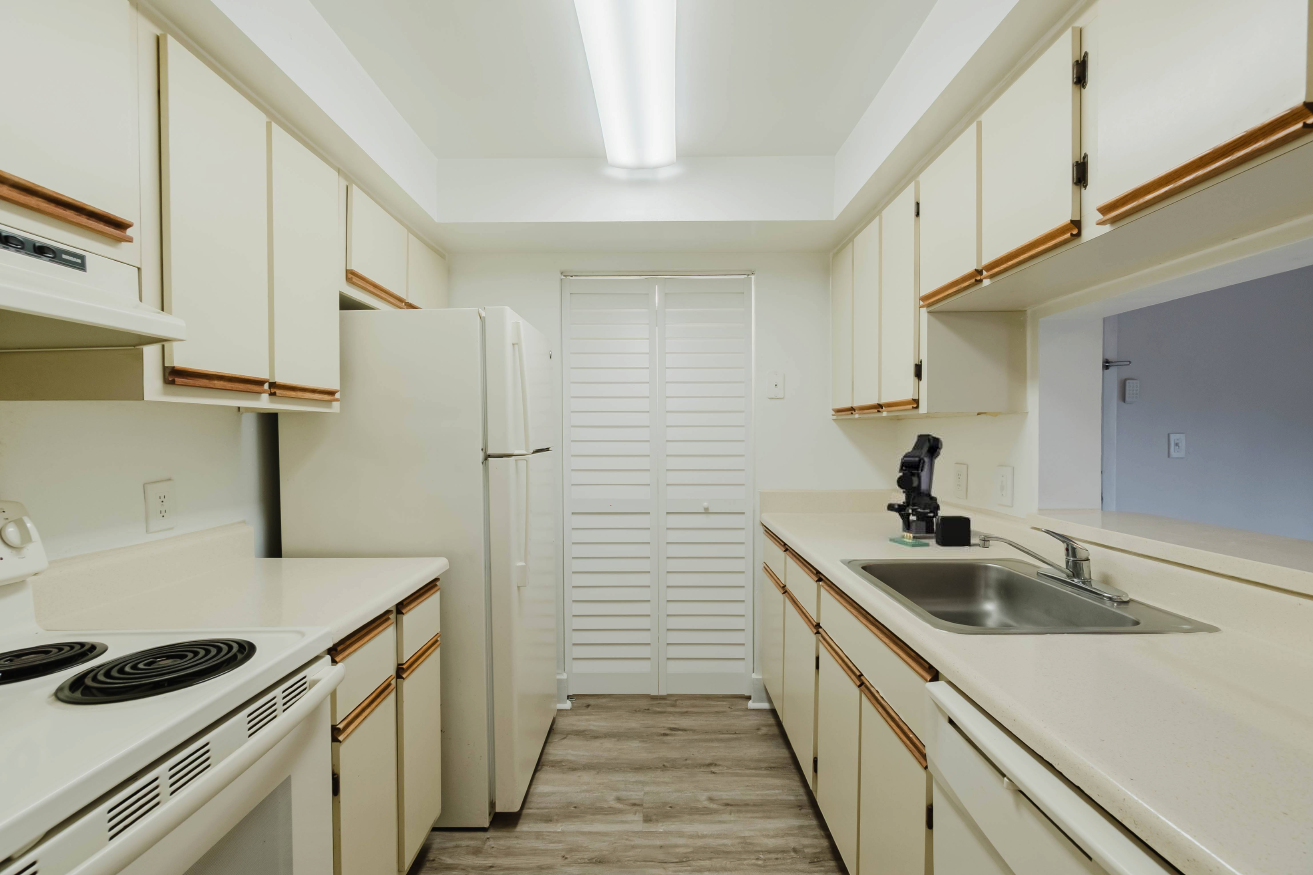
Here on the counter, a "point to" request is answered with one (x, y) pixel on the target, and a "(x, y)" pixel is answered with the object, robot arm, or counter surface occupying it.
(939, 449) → the robot arm
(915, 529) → the block
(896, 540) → the header board
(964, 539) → the electronic device
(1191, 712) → the counter surface
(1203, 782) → the counter surface
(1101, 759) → the counter surface
